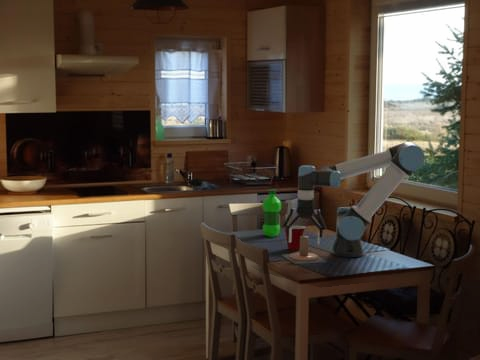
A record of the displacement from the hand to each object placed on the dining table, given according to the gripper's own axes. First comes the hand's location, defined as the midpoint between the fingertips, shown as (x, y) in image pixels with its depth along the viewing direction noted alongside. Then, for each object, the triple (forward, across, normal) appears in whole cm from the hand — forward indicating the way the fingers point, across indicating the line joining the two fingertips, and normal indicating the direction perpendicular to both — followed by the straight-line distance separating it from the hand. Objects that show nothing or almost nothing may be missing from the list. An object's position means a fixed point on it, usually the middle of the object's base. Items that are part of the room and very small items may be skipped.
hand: (304, 243), depth 365 cm
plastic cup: (+8, +8, -18) cm, 21 cm away
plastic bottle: (+8, +25, -47) cm, 54 cm away
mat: (+8, 0, 0) cm, 8 cm away
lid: (+7, 0, 0) cm, 7 cm away
